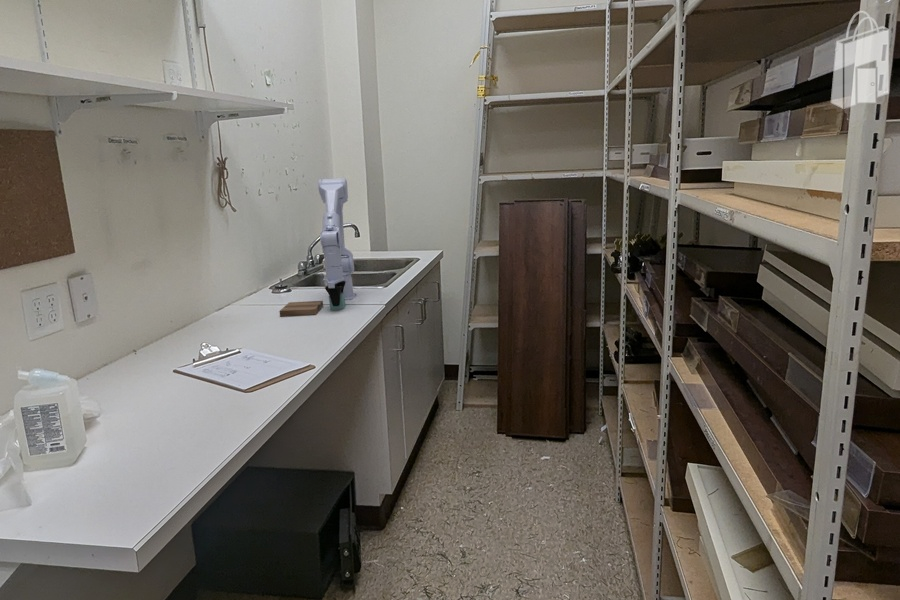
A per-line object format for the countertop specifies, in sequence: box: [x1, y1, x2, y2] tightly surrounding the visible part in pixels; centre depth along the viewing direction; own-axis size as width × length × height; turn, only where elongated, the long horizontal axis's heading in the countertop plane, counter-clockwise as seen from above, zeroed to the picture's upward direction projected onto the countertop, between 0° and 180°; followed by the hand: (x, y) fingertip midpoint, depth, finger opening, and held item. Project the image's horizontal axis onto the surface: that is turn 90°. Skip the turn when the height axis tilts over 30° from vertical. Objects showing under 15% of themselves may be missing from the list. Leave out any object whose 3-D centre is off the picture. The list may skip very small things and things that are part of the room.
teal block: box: [328, 292, 346, 311], centre depth 199 cm, size 4×4×5 cm
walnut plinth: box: [278, 300, 324, 318], centre depth 198 cm, size 12×12×2 cm
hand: (337, 304), depth 200 cm, fingers closed on teal block, 4 cm apart
